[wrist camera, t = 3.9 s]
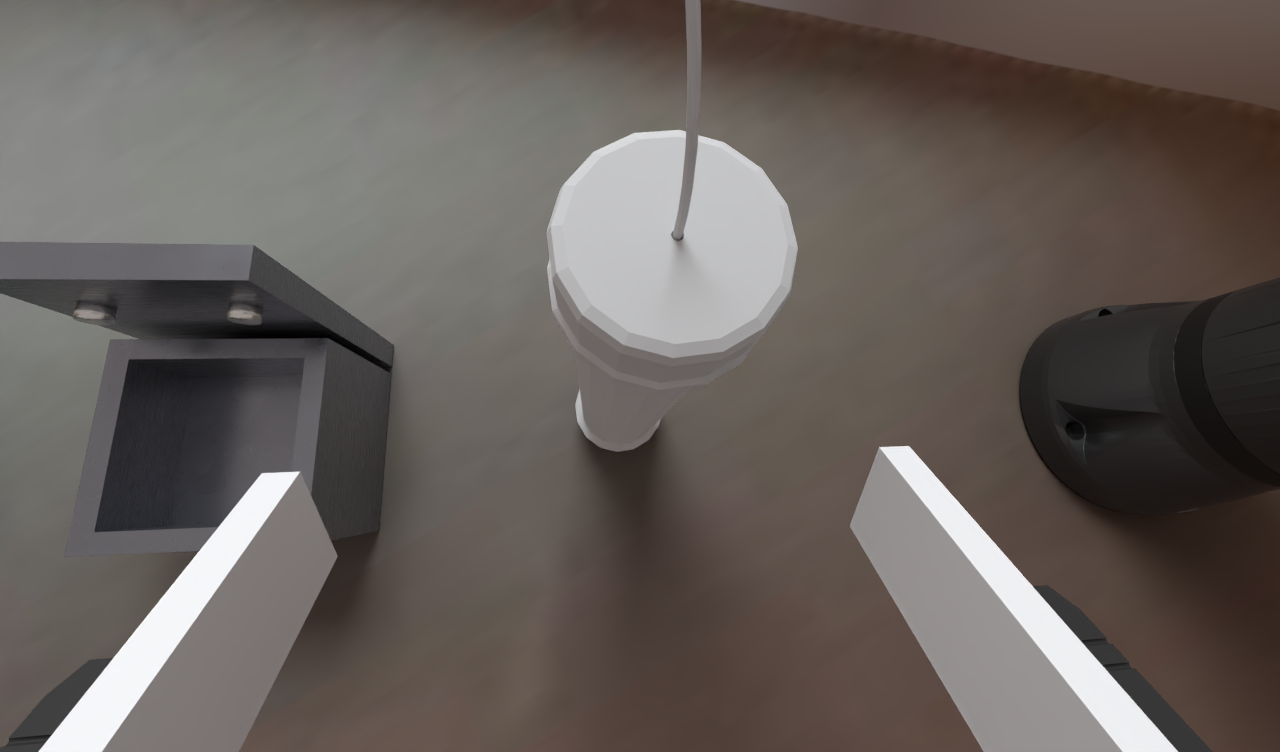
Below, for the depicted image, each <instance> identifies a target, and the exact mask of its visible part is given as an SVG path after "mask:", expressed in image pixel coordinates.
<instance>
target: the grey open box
mask: <svg viewBox="0 0 1280 752" xmlns="http://www.w3.org/2000/svg"><path fill="white" fill-rule="evenodd" d="M0 293H1V294H5V295H8V296H11V297H14V298H17V299H20V300H23V301H26V302H29V303H32V304H35V305H38V306H41V307H44V308H47V309H50V310H53V311H56V312H59V313H63V314H66V315H69V316H72V317H73V319H75V320H77V321H80V322H84V323H88V324H95V325H99V326H102V327H105V328H108V329H111V330H114V331H117V332H121V333H124V334H127V335H130V336H133V337H136V338H139V339H128V340H110V343H109V347H108V352H107V357H106V362H105V366H104V371H103V376H102V381H101V385H100V390H99V395H98V400H97V404H96V409H95V414H94V419H93V423H92V428H91V433H90V437H89V442H88V447H87V452H86V456H85V461H84V466H83V471H82V475H81V480H80V485H79V490H78V494H77V499H76V504H75V509H74V513H73V518H72V523H71V527H70V532H69V537H68V542H67V546H66V551H65V556H64V557H76V556H98V555H120V554H142V553H163V552H185V551H200V550H201V548H202V547H203V546H204V545H205V543H206V542H207V541H208V540H209V538H210V537H211V536H212V535H213V533H214V532H215V531H216V530H217V528H218V527H219V526H220V525H221V523H222V522H223V521H224V520H225V518H226V517H227V516H228V515H229V513H230V512H231V511H232V510H233V508H234V507H235V506H236V505H237V503H238V502H239V501H240V500H241V498H242V497H243V496H244V495H245V493H246V492H247V491H248V490H249V488H250V487H251V486H252V485H253V484H254V482H255V481H256V480H257V479H258V477H259V476H260V475H261V474H262V473H278V472H301V474H302V477H303V479H304V481H305V483H306V486H307V488H308V490H309V492H310V495H311V497H312V499H313V501H314V504H315V506H316V508H317V510H318V513H319V515H320V517H321V520H322V522H323V524H324V526H325V529H326V531H327V533H328V535H329V538H330V540H331V541H332V540H337V539H342V538H347V537H352V536H356V535H361V534H366V533H371V532H376V531H379V527H380V514H381V501H382V488H383V476H384V463H385V450H386V437H387V424H388V412H389V399H390V386H391V373H389V372H387V371H385V370H384V369H382V368H380V367H392V360H393V348H394V345H393V344H391V343H390V342H389V341H387V340H386V339H384V338H383V337H382V336H380V335H379V334H377V333H376V332H375V331H373V330H372V329H370V328H369V327H368V326H366V325H365V324H363V323H362V322H361V321H359V320H358V319H356V318H355V317H354V316H352V315H351V314H349V313H348V312H347V311H345V310H344V309H342V308H341V307H340V306H338V305H337V304H335V303H334V302H333V301H331V300H330V299H328V298H327V297H326V296H324V295H323V294H321V293H320V292H319V291H317V290H316V289H315V288H313V287H312V286H310V285H309V284H308V283H306V282H305V281H303V280H302V279H301V278H299V277H298V276H296V275H295V274H294V273H292V272H291V271H289V270H288V269H287V268H285V267H284V266H282V265H281V264H280V263H278V262H277V261H275V260H274V259H273V258H271V257H270V256H268V255H267V254H266V253H264V252H263V251H261V250H260V249H259V248H257V247H256V246H254V245H211V244H129V243H48V242H0Z"/></svg>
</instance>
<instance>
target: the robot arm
mask: <svg viewBox="0 0 1280 752" xmlns="http://www.w3.org/2000/svg"><path fill="white" fill-rule="evenodd" d="M1020 399H1021V407H1022V412H1023V416H1024V420H1025V423H1026V427H1027V429H1028V432H1029V434H1030V437H1031V439H1032V441H1033V443H1034V445H1035V447H1036V449H1037V450H1038V452H1039V453H1040V455H1041V457H1042V458H1043V459H1044V461H1045V462H1046V464H1047V465H1048V466H1049V467H1050V469H1051V470H1052V471H1053V472H1054V473H1055V474H1056V475H1057V477H1059V478H1060V479H1061V480H1062V481H1063V482H1064V483H1065V484H1066V485H1067V486H1068V487H1069V488H1071V489H1072V490H1073V491H1075V492H1076V493H1078V494H1079V495H1081V496H1082V497H1084V498H1085V499H1087V500H1089V501H1091V502H1093V503H1095V504H1097V505H1099V506H1102V507H1104V508H1108V509H1111V510H1114V511H1119V512H1125V513H1138V514H1160V515H1169V514H1180V513H1186V512H1191V511H1195V510H1197V509H1199V508H1202V507H1206V506H1211V505H1215V504H1220V503H1224V502H1228V501H1233V500H1237V499H1241V498H1245V497H1249V496H1253V495H1257V494H1261V493H1264V492H1268V491H1272V490H1276V489H1280V278H1276V279H1273V280H1270V281H1266V282H1263V283H1260V284H1256V285H1253V286H1249V287H1246V288H1243V289H1240V290H1237V291H1233V292H1230V293H1227V294H1223V295H1220V296H1217V297H1213V298H1209V299H1206V300H1202V301H1185V302H1168V303H1150V304H1137V305H1117V306H1106V307H1101V308H1096V309H1092V310H1089V311H1086V312H1083V313H1080V314H1078V315H1075V316H1072V317H1069V318H1066V319H1064V320H1061V321H1059V322H1057V323H1055V324H1053V325H1052V326H1050V327H1049V328H1048V329H1046V330H1045V331H1044V332H1043V333H1042V334H1041V335H1040V336H1039V337H1038V338H1037V339H1036V340H1035V342H1034V343H1033V345H1032V346H1031V348H1030V350H1029V352H1028V354H1027V356H1026V359H1025V361H1024V364H1023V368H1022V373H1021V380H1020ZM850 527H851V529H852V531H853V532H854V534H855V536H856V537H857V539H858V541H859V542H860V544H861V546H862V548H863V549H864V551H865V553H866V554H867V556H868V558H869V559H870V561H871V563H872V564H873V566H874V568H875V569H876V571H877V573H878V574H879V576H880V578H881V580H882V581H883V583H884V585H885V586H886V588H887V590H888V591H889V593H890V595H891V596H892V598H893V600H894V601H895V603H896V605H897V606H898V608H899V610H900V612H901V613H902V615H903V617H904V618H905V620H906V622H907V623H908V625H909V627H910V628H911V630H912V632H913V633H914V635H915V637H916V638H917V640H918V642H919V644H920V645H921V647H922V649H923V650H924V652H925V654H926V655H927V657H928V659H929V660H930V662H931V664H932V665H933V667H934V669H935V670H936V672H937V674H938V676H939V677H940V679H941V681H942V682H943V684H944V686H945V687H946V689H947V691H948V692H949V694H950V696H951V697H952V699H953V701H954V702H955V704H956V706H957V708H958V709H959V711H960V713H961V714H962V716H963V718H964V719H965V721H966V723H967V724H968V726H969V728H970V729H971V731H972V733H973V734H974V736H975V738H976V739H977V741H978V743H979V745H980V746H981V748H982V750H983V751H984V752H1212V751H1211V750H1210V748H1209V747H1208V746H1207V745H1206V744H1205V743H1204V742H1203V741H1202V740H1201V739H1200V738H1199V737H1198V736H1197V734H1196V733H1195V732H1194V731H1193V730H1192V729H1191V728H1190V727H1189V726H1188V725H1187V724H1186V723H1185V722H1184V721H1183V719H1182V718H1181V717H1180V716H1179V715H1178V714H1177V713H1176V712H1175V711H1174V710H1173V709H1172V708H1171V707H1170V705H1169V704H1168V703H1167V702H1166V701H1165V700H1164V699H1163V698H1162V697H1161V696H1160V695H1159V694H1158V693H1157V692H1156V690H1155V689H1154V688H1153V687H1152V686H1151V685H1150V684H1149V683H1148V682H1147V681H1146V680H1145V679H1144V678H1143V677H1142V675H1141V674H1140V673H1139V672H1138V671H1137V670H1136V669H1132V668H1131V667H1130V666H1129V661H1128V660H1127V659H1126V658H1125V657H1124V656H1123V655H1122V654H1121V653H1120V652H1119V651H1118V650H1117V649H1116V648H1115V646H1114V645H1113V644H1109V643H1108V642H1107V640H1106V637H1105V636H1104V635H1103V634H1102V633H1101V631H1100V630H1099V629H1098V628H1097V627H1096V626H1095V625H1094V624H1093V623H1092V622H1091V621H1090V620H1089V619H1088V617H1087V616H1086V615H1085V614H1084V613H1083V612H1082V611H1081V610H1080V609H1079V608H1077V607H1076V606H1075V605H1073V604H1072V603H1071V602H1069V601H1068V600H1067V599H1065V598H1064V597H1062V596H1061V595H1060V594H1058V593H1057V592H1056V591H1054V590H1053V589H1052V588H1050V587H1049V586H1047V585H1045V586H1032V585H1031V584H1030V583H1029V582H1028V581H1027V580H1026V578H1025V577H1024V576H1023V575H1022V574H1021V573H1020V572H1019V570H1018V569H1017V568H1016V567H1015V566H1014V565H1013V564H1012V562H1011V561H1010V560H1009V559H1008V558H1007V557H1006V556H1005V555H1004V553H1003V552H1002V551H1001V550H1000V549H999V548H998V547H997V545H996V544H995V543H994V542H993V541H992V540H991V539H990V538H989V536H988V535H987V534H986V533H985V532H984V531H983V530H982V528H981V527H980V526H979V525H978V524H977V523H976V522H975V520H974V519H973V518H972V517H971V516H970V515H969V514H968V513H967V511H966V510H965V509H964V508H963V507H962V506H961V505H960V503H959V502H958V501H957V500H956V499H955V498H954V497H953V496H952V494H951V493H950V492H949V491H948V490H947V489H946V488H945V486H944V485H943V484H942V483H941V482H940V481H939V480H938V478H937V477H936V476H935V475H934V474H933V473H932V472H931V471H930V469H929V468H928V467H927V466H926V465H925V464H924V463H923V461H922V460H921V459H920V458H919V457H918V456H917V455H916V454H915V452H914V451H913V450H912V449H911V448H910V447H909V446H898V447H879V449H878V452H877V455H876V457H875V460H874V463H873V465H872V468H871V471H870V473H869V476H868V479H867V481H866V484H865V487H864V489H863V492H862V495H861V497H860V500H859V502H858V505H857V508H856V510H855V513H854V516H853V518H852V521H851V524H850ZM337 557H338V556H337V553H336V551H335V549H334V547H333V544H332V542H331V540H330V538H329V535H328V533H327V531H326V529H325V526H324V524H323V522H322V520H321V517H320V515H319V513H318V510H317V508H316V506H315V504H314V501H313V499H312V497H311V495H310V492H309V490H308V488H307V486H306V483H305V481H304V479H303V477H302V474H301V472H278V473H262V474H261V475H260V476H259V477H258V479H257V480H256V481H255V482H254V484H253V485H252V486H251V487H250V488H249V490H248V491H247V492H246V493H245V495H244V496H243V497H242V498H241V500H240V501H239V502H238V503H237V505H236V506H235V507H234V508H233V510H232V511H231V512H230V513H229V515H228V516H227V517H226V518H225V520H224V521H223V522H222V523H221V525H220V526H219V527H218V528H217V530H216V531H215V532H214V533H213V535H212V536H211V537H210V538H209V540H208V541H207V542H206V543H205V545H204V546H203V547H202V548H201V550H200V551H199V552H198V553H197V555H196V556H195V557H194V558H193V560H192V561H191V562H190V563H189V565H188V566H187V567H186V568H185V570H184V571H183V572H182V573H181V575H180V576H179V577H178V578H177V580H176V581H175V582H174V583H173V585H172V586H171V587H170V588H169V589H168V591H167V592H166V593H165V594H164V596H163V597H162V598H161V599H160V601H159V602H158V603H157V604H156V606H155V607H154V608H153V609H152V611H151V612H150V613H149V614H148V616H147V617H146V618H145V619H144V621H143V622H142V623H141V624H140V626H139V627H138V628H137V629H136V631H135V632H134V633H133V634H132V636H131V637H130V638H129V639H128V641H127V642H126V643H125V644H124V646H123V647H122V648H121V649H120V651H119V652H118V653H117V654H116V656H115V657H114V658H108V659H95V660H89V661H88V662H87V663H85V664H84V665H83V666H82V667H80V668H79V669H78V670H77V671H75V672H74V673H73V674H72V675H70V676H69V677H68V678H67V679H66V680H64V681H63V682H62V683H61V684H59V685H58V686H57V687H56V688H54V689H53V690H52V691H51V692H49V693H48V694H47V695H46V696H45V697H44V698H43V699H42V700H41V701H40V703H39V704H38V705H37V706H36V707H35V708H34V709H33V711H32V712H31V713H30V714H29V715H28V716H27V718H26V719H25V720H24V721H23V722H22V723H21V725H20V726H19V727H18V728H17V729H16V730H15V731H14V733H13V734H12V735H11V736H10V737H9V742H8V744H7V745H6V746H4V747H1V748H0V752H239V751H240V749H241V747H242V745H243V743H244V741H245V739H246V737H247V735H248V733H249V731H250V729H251V727H252V725H253V723H254V721H255V719H256V717H257V715H258V713H259V711H260V709H261V707H262V705H263V703H264V701H265V699H266V697H267V695H268V693H269V691H270V689H271V687H272V685H273V683H274V682H275V680H276V678H277V676H278V674H279V672H280V670H281V668H282V666H283V664H284V662H285V660H286V658H287V656H288V654H289V652H290V650H291V648H292V646H293V644H294V642H295V640H296V638H297V636H298V634H299V632H300V630H301V628H302V626H303V624H304V622H305V620H306V618H307V616H308V614H309V612H310V610H311V608H312V606H313V604H314V602H315V600H316V598H317V596H318V595H319V593H320V591H321V589H322V587H323V585H324V583H325V581H326V579H327V577H328V575H329V573H330V571H331V569H332V567H333V565H334V563H335V561H336V559H337Z"/></svg>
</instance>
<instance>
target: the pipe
mask: <svg viewBox="0 0 1280 752" xmlns="http://www.w3.org/2000/svg"><path fill="white" fill-rule="evenodd" d="M685 1H686V29H687V122H686V132H685V131H681V130H673V131H658V132H643V133H633V134H631V135H629V136H627V137H625V138H622V139H620V140H618V141H616V142H614V143H612V144H609V145H607V146H605V147H603V148H601V149H599V150H596V151H594V152H593V153H592V154H591V155H590V156H589V157H588V159H587V160H586V161H585V162H584V163H583V164H582V165H581V166H580V167H579V168H578V169H577V171H576V172H575V173H574V174H573V175H572V176H571V177H570V178H569V179H568V180H567V182H566V183H565V184H564V185H563V186H562V188H561V189H560V192H559V195H558V198H557V201H556V204H555V207H554V211H553V214H552V217H551V220H550V223H549V226H548V229H547V232H546V233H547V241H548V249H549V257H550V260H549V263H548V266H547V272H548V280H549V288H550V296H551V304H552V312H553V316H554V319H555V321H556V323H557V324H558V326H559V328H560V329H561V331H562V333H563V334H564V336H565V338H566V339H567V341H568V343H569V344H570V346H571V348H572V349H573V351H574V353H575V355H576V363H577V371H578V378H579V386H580V390H579V393H578V397H577V400H576V404H575V406H576V414H577V422H578V424H579V426H580V428H581V429H582V431H583V433H584V434H585V436H586V438H588V439H589V440H590V441H592V442H593V443H594V444H596V445H597V446H598V447H600V448H603V449H607V450H611V451H615V452H619V451H626V450H632V449H635V448H636V447H638V446H640V445H641V444H643V443H645V442H646V441H648V440H649V439H650V437H651V436H652V435H653V433H654V432H655V431H656V429H657V428H658V426H659V423H660V419H661V418H662V417H663V416H664V415H665V414H666V413H667V412H668V411H669V410H670V409H671V408H672V407H673V406H674V405H675V404H676V403H677V402H678V401H679V400H680V399H681V398H682V397H683V396H684V395H685V394H686V393H687V392H688V391H689V390H691V389H698V388H702V387H703V386H705V385H707V384H708V383H710V382H712V381H713V380H715V379H717V378H718V377H720V376H722V375H723V374H725V373H727V372H728V371H730V370H732V369H733V368H735V367H737V366H738V365H739V364H740V363H742V362H743V361H744V359H745V358H746V356H747V355H748V354H749V352H750V351H751V349H752V348H753V346H754V345H755V344H756V342H757V341H758V340H759V339H760V338H761V337H762V336H763V335H764V334H765V332H766V331H767V330H768V328H769V327H770V325H771V324H772V322H773V321H774V320H775V318H776V317H777V315H778V314H779V312H780V311H781V310H782V308H783V307H784V305H785V304H786V302H787V301H788V300H789V298H790V293H791V288H792V282H793V277H794V271H795V266H796V260H797V254H798V247H797V243H796V239H795V235H794V230H793V226H792V222H791V218H790V214H789V210H788V205H787V204H786V202H785V201H784V200H783V198H782V197H781V195H780V194H779V193H778V191H777V190H776V188H775V187H774V185H773V184H772V183H771V181H770V180H769V178H768V177H767V176H766V174H765V173H764V171H763V170H762V168H760V167H759V166H757V165H756V164H754V163H753V162H751V161H750V160H749V159H747V158H746V157H744V156H743V155H741V154H740V153H738V152H737V151H736V150H734V149H733V148H731V147H730V146H728V145H727V144H726V143H724V142H721V141H717V140H714V139H710V138H706V137H703V136H699V135H698V133H699V117H700V92H701V8H700V0H685Z"/></svg>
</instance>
